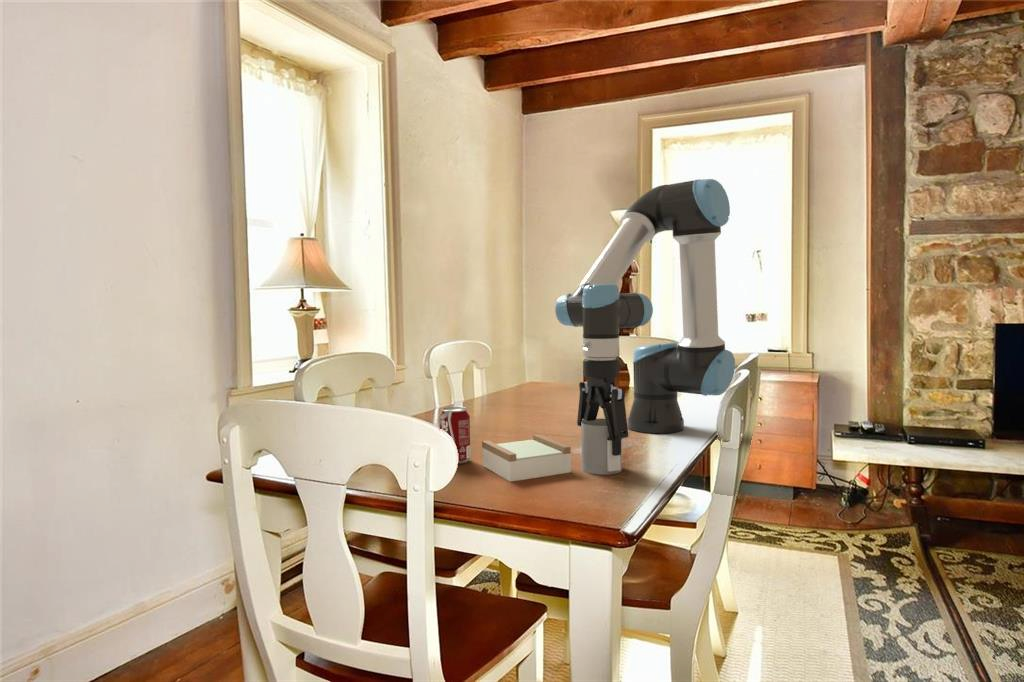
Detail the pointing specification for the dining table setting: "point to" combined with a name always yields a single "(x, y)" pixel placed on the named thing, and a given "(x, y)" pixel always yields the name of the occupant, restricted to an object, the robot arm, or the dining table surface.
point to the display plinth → (527, 458)
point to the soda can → (457, 429)
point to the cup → (596, 447)
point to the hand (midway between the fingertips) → (601, 465)
